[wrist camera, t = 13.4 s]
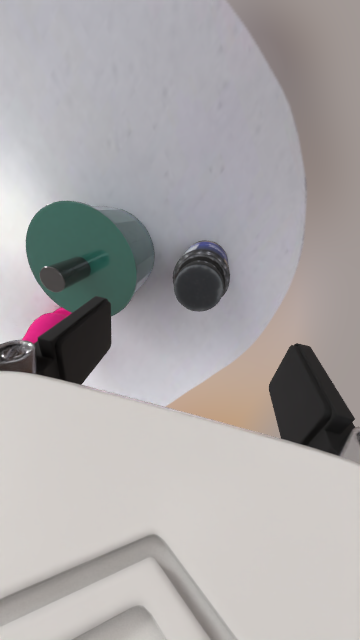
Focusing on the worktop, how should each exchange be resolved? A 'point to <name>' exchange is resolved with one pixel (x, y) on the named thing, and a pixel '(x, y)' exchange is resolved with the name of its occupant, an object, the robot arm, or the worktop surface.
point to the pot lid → (81, 256)
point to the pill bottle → (201, 276)
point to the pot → (134, 240)
